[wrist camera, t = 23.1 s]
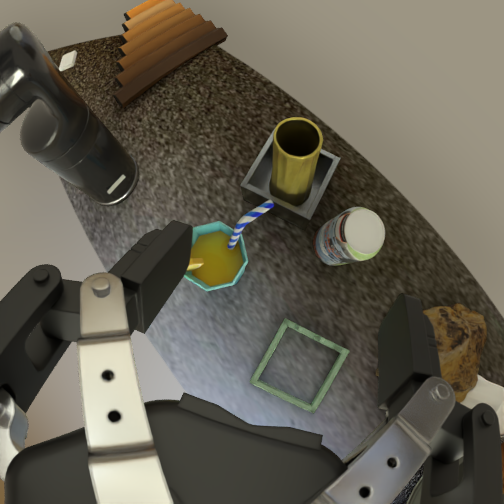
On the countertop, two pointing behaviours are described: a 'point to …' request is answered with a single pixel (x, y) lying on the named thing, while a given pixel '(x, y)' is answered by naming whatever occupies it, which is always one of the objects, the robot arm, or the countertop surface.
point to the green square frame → (325, 385)
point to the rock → (458, 345)
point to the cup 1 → (220, 252)
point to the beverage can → (349, 237)
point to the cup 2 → (487, 398)
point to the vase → (294, 159)
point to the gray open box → (259, 193)
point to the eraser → (68, 60)
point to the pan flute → (159, 44)
